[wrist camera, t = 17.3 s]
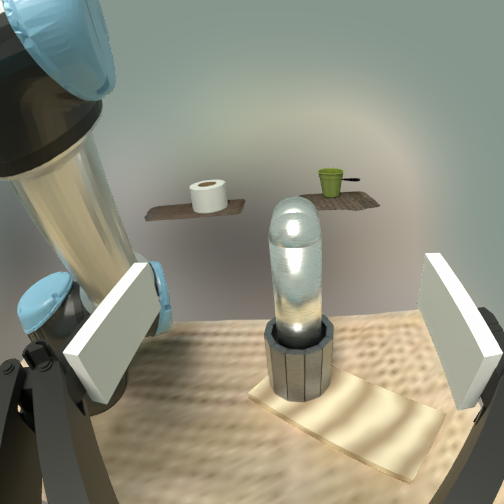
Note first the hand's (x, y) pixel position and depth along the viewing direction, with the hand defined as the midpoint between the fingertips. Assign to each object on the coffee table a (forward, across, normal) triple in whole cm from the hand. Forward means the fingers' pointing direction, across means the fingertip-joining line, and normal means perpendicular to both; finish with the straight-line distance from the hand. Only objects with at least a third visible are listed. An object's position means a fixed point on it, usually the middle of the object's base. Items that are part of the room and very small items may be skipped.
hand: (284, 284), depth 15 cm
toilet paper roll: (+119, -40, -36) cm, 131 cm away
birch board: (+17, +7, -36) cm, 41 cm away
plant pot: (+126, +12, -36) cm, 132 cm away
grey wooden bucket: (+24, 0, -34) cm, 42 cm away
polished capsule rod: (+25, -1, -26) cm, 37 cm away
